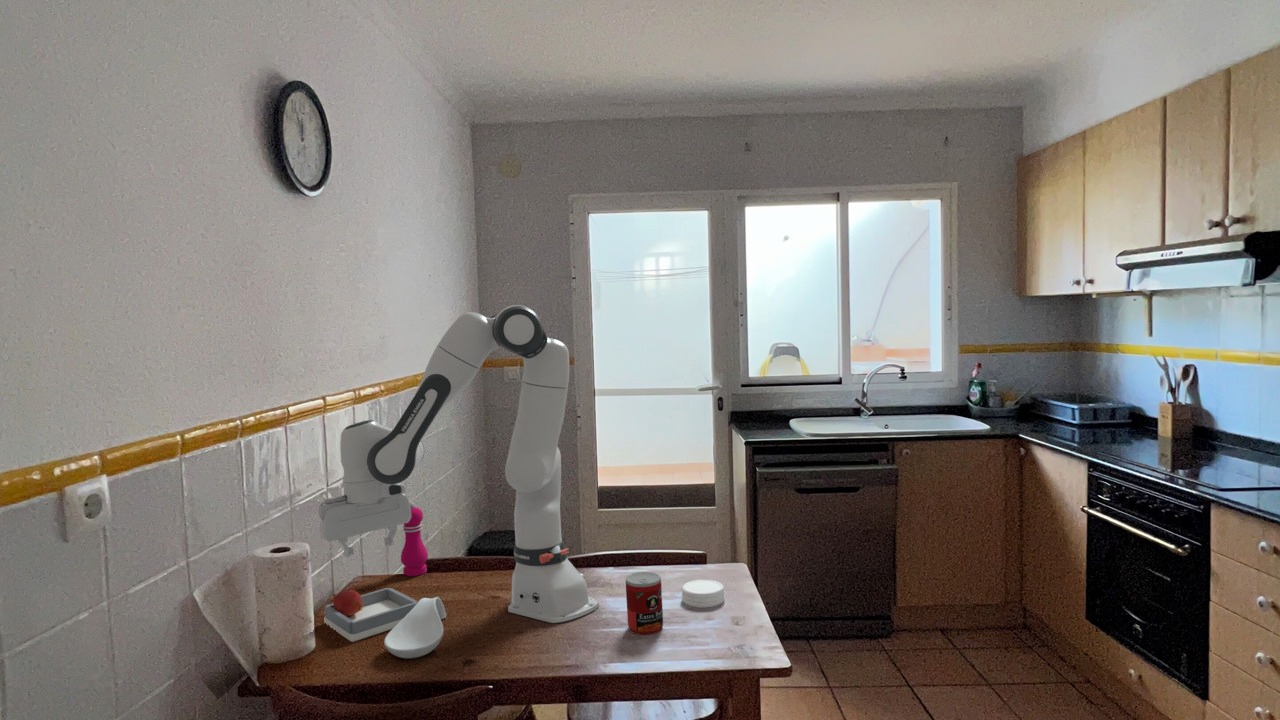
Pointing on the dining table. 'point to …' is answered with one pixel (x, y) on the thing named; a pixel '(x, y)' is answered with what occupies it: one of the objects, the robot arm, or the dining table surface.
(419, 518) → the pepper mill
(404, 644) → the spoon rest
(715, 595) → the white short cylinder
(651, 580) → the canned food
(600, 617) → the dining table surface
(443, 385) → the robot arm
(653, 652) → the dining table surface
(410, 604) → the stand
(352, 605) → the onion
